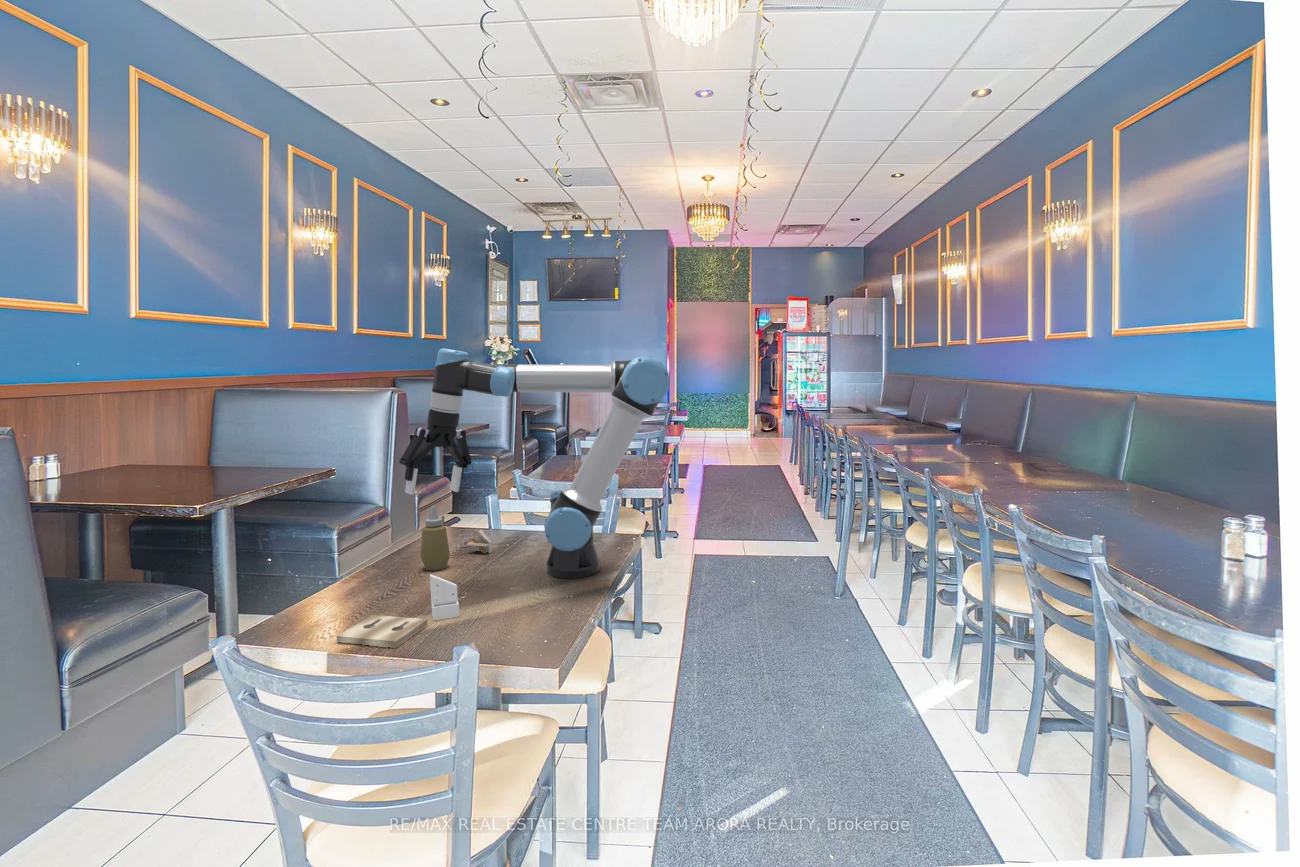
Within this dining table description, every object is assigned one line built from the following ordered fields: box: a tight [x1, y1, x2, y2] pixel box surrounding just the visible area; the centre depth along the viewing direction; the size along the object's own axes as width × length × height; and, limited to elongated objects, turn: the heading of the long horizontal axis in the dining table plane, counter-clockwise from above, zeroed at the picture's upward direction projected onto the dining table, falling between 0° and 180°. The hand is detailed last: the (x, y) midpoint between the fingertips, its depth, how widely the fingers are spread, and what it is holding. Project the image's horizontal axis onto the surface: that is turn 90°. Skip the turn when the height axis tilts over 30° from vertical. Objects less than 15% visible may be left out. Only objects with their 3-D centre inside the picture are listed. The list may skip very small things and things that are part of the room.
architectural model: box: [466, 529, 493, 554], centre depth 204 cm, size 3×7×7 cm, turn 75°
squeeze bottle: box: [420, 506, 451, 571], centre depth 189 cm, size 8×8×18 cm
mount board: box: [336, 614, 429, 649], centre depth 143 cm, size 14×12×2 cm
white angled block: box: [429, 573, 460, 621], centre depth 152 cm, size 4×10×9 cm, turn 114°
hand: (432, 492), depth 168 cm, fingers open, 13 cm apart
